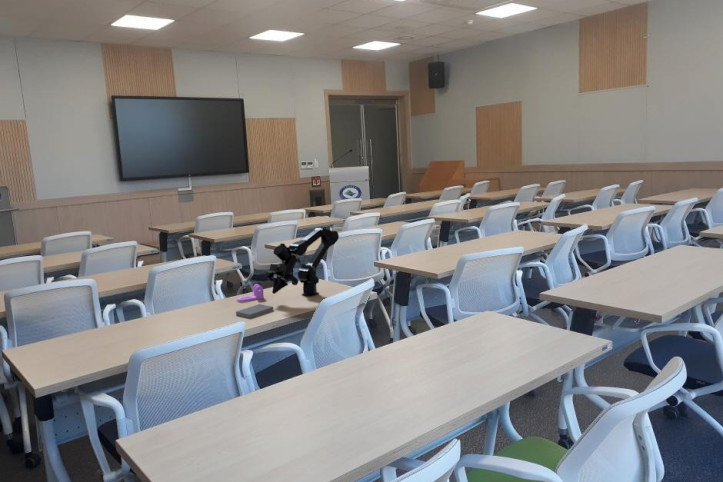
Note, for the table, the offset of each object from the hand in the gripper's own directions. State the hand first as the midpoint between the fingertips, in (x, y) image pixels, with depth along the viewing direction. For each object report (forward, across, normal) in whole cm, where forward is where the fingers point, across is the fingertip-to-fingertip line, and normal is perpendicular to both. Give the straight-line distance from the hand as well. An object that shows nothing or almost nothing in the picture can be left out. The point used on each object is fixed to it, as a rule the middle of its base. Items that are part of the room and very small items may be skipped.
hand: (273, 293), depth 272 cm
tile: (+8, 0, 0) cm, 8 cm away
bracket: (+3, -22, +7) cm, 23 cm away
